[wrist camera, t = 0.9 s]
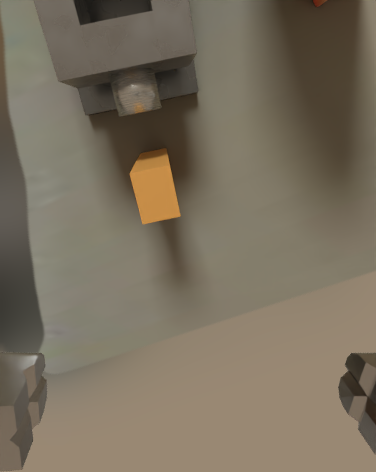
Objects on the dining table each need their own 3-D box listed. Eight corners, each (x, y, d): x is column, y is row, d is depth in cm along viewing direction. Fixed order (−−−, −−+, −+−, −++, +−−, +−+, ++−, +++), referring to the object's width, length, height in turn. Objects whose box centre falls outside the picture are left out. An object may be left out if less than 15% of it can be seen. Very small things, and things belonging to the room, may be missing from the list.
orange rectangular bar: (166, 147, 36) (169, 164, 23) (173, 182, 38) (180, 216, 25) (140, 153, 36) (129, 173, 23) (148, 187, 38) (142, 224, 25)
